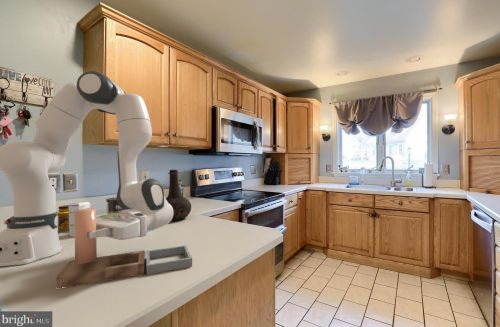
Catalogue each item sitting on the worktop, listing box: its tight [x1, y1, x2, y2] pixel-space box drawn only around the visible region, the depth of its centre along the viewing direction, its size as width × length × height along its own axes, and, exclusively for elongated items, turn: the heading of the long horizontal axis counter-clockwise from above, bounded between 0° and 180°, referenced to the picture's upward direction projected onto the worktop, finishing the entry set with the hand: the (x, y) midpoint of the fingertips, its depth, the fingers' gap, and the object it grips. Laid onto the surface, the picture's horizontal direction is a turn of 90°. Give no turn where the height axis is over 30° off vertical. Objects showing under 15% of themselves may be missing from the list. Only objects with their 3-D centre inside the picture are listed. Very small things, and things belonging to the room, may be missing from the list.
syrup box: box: [68, 201, 91, 238], centre depth 107 cm, size 6×6×14 cm
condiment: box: [57, 204, 70, 234], centre depth 115 cm, size 7×8×12 cm
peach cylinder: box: [74, 207, 98, 264], centre depth 67 cm, size 5×5×14 cm
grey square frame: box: [146, 244, 193, 275], centre depth 75 cm, size 13×13×2 cm
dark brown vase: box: [165, 169, 192, 222], centre depth 136 cm, size 18×18×28 cm
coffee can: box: [105, 196, 123, 217], centre depth 122 cm, size 10×10×14 cm
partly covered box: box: [55, 250, 146, 289], centre depth 69 cm, size 20×11×3 cm, turn 113°
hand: (82, 233), depth 66 cm, fingers closed on peach cylinder, 5 cm apart
